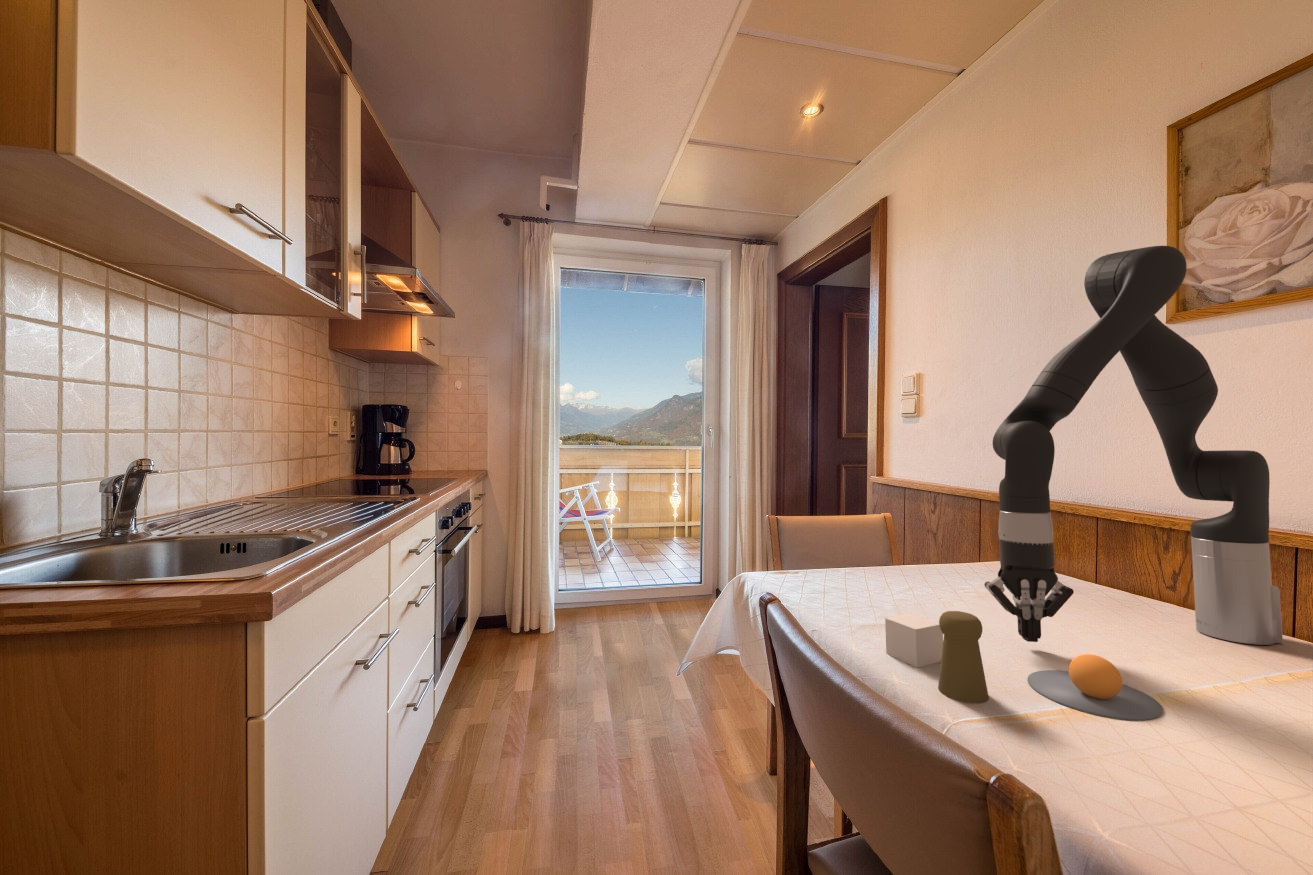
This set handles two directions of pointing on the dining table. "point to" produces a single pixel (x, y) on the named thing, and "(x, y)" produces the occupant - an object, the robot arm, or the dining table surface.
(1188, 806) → the dining table surface
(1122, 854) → the dining table surface
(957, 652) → the cork
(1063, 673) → the disc
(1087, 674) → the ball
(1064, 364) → the robot arm
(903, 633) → the grey cube
